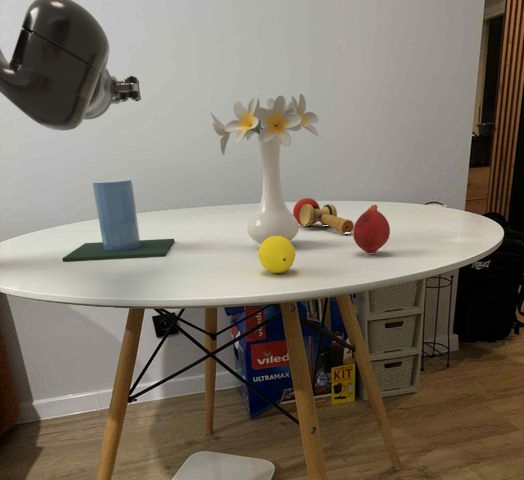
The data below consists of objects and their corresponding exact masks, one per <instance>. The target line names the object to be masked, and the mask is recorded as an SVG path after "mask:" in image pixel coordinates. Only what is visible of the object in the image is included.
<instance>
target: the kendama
mask: <svg viewBox="0 0 524 480" xmlns="http://www.w3.org/2000/svg"><path fill="white" fill-rule="evenodd" d="M337 211H338V210H337V207H336V206H335V205H333V204H331V203H330V204H329V203H327V204H324V205H323V206H322V208H321V207H320V204H319V203H318V202H317V201H316V200H315V199H313V198H310V197H304V198H301V199H299V200H298V201H297V202H296V203H295V205H294V206H293V211H292V214H293V215H294V217H295V218H296V220H297V222H298V225H299V226H302V225H305V226H306V227H310V226H309V225H311V226H313V225H315V224H317V223H320V224H321V225H322V226H323V225H328V226H330V227H329V228H332V229H333V230H335V231H337V232H339V233H341V234H342V233H345V232H351V231H352V232H353V229H354V226H355V223H354V222H353V220H351V219H346V218H344V217H343V218H342V217H339V216H338V212H337ZM312 224H313V225H312ZM305 226H304V227H305ZM352 232H351V233H352Z"/></svg>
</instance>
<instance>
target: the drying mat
mask: <svg viewBox="0 0 524 480" xmlns="http://www.w3.org/2000/svg"><path fill="white" fill-rule="evenodd" d="M174 243H175V238H161V239H160V238H157V239H140V244H141V246H140V247H138V248H135V249H130V250H122V251H107V250H104V249H103V243H102V241H99V242H85V243H83V244H81V245H79V247H77V248H76V249H74V250H72V251H71V252H70V253H68V254H66V255H65V256H63V257H62V262H79V261H81V262H83V261H98V260H100V261H101V260H102V261H103V260H119V259H139V258H157V257H160V258H161V257H166V255H167V253H168V252H169V250H170V249H171V247H172V246H173V245H174Z"/></svg>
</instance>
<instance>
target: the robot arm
mask: <svg viewBox="0 0 524 480" xmlns="http://www.w3.org/2000/svg"><path fill="white" fill-rule="evenodd" d="M110 49H111V48H110V43H109V39H108V36H107V34H106V32H105V30H104V29H103V27H102V25H101V24H100V22H99V21H98V20H97V19H96V18H95V16H94V15H92V14H91V13H90V11H88V10H87V9H86V8H85V7H83V6H82V5H80V4H79V3H77V1H74V0H34V1H32V3H31V4H30V5H28V7H27V10H26V12H25V15H24V18H23V21H22V24H21V28H20V31H19V34H18V37H17V40H16V42H15V47H14V49H13V53H12V55H11V59H10V61H8V60H7V58H6V57H5V54H4V53H3V51H2V48H1V47H0V94H2V95H3V96H4V97H5V98H6V99H7V100H8V101H9V102H10V103H11V104H13V106H15V107H16V108H17V109H18V110H20V111H21V112H22V113H23V114H24V115H26V116H27V117H28V118H30V119H31V120H32V121H34V122H35V123H37V124H38V125H40V126H43V127H44V128H47V129H50V130H53V131H71V130H74V129H76V128H78V127H79V126H80V125H81V124H82V123H83V121H84V120H94V119H97V118H100V117H102V116H103V115H104V114H105V113H106V112H107V111H108V110H109V108H110V106H111V105H119V104H120V103H127V102H129V99H130V100H132V101H135V102H139V101H142V96H141V90H140V81H139V79H138V78H137V77H136V76H134V75H130V76H128V77H126V78H123V79H124V80H118V79H117V77H116V76H115V75H111V74H110V73H109V69H107V65H108V61H109V57H110Z"/></svg>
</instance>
